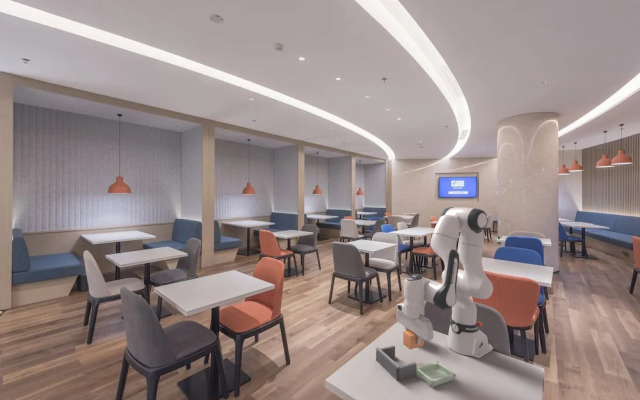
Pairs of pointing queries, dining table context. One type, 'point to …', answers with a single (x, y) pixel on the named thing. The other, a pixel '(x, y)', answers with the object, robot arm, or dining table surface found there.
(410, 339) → the orange block
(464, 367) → the dining table surface
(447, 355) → the dining table surface
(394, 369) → the bay
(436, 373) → the tray
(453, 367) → the dining table surface
